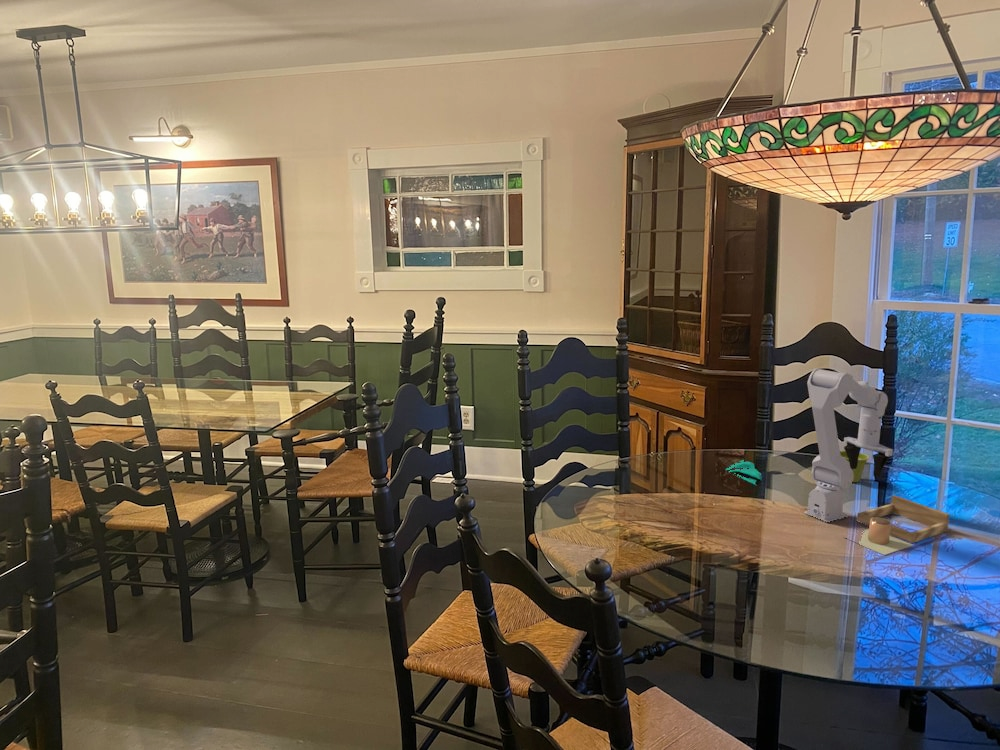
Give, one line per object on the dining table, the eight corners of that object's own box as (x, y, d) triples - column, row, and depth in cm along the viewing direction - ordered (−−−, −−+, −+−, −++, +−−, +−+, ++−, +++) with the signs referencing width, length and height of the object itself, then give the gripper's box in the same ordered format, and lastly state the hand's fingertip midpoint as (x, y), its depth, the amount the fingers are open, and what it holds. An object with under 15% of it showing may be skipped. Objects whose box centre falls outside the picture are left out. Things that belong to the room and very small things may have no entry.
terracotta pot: (882, 546, 182) (885, 526, 180) (863, 539, 186) (866, 519, 185) (892, 541, 184) (895, 522, 183) (874, 534, 188) (876, 515, 187)
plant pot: (859, 475, 235) (861, 451, 233) (870, 485, 226) (873, 460, 224) (830, 474, 236) (832, 450, 234) (840, 484, 227) (843, 459, 225)
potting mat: (884, 555, 177) (884, 554, 177) (842, 537, 188) (842, 536, 187) (913, 545, 183) (913, 544, 183) (870, 528, 193) (870, 528, 193)
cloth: (728, 459, 254) (728, 453, 253) (768, 464, 249) (768, 458, 248) (721, 483, 230) (722, 476, 230) (765, 488, 225) (766, 482, 225)
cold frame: (911, 543, 184) (914, 525, 183) (856, 521, 198) (858, 505, 197) (947, 531, 191) (949, 514, 190) (891, 511, 205) (893, 495, 204)
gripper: (901, 433, 203) (896, 477, 206) (856, 421, 216) (851, 463, 219) (886, 436, 200) (881, 481, 203) (841, 424, 213) (836, 466, 215)
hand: (864, 472), depth 211 cm, fingers open, 7 cm apart
